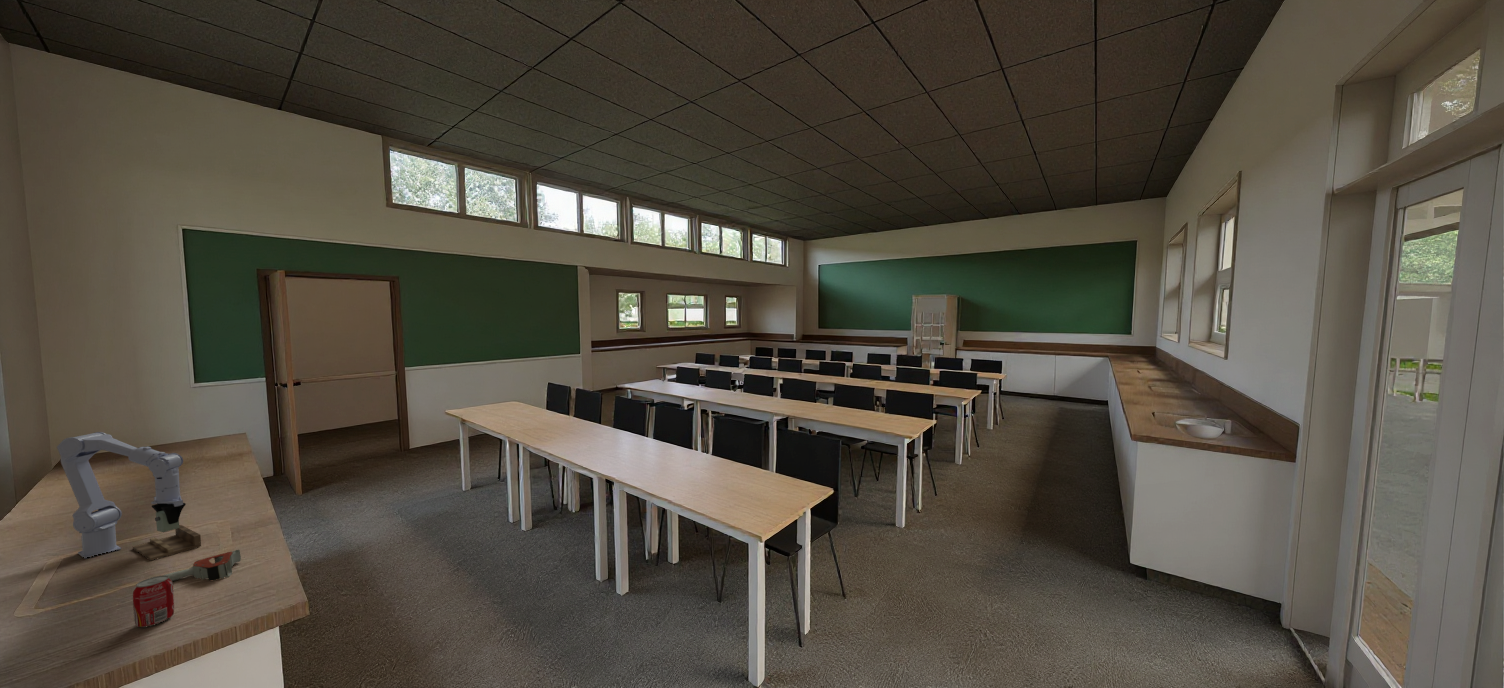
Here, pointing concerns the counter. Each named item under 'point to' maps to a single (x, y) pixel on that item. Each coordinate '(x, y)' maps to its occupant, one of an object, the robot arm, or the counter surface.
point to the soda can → (153, 601)
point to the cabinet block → (164, 522)
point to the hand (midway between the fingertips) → (169, 522)
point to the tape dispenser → (210, 567)
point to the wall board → (170, 544)
